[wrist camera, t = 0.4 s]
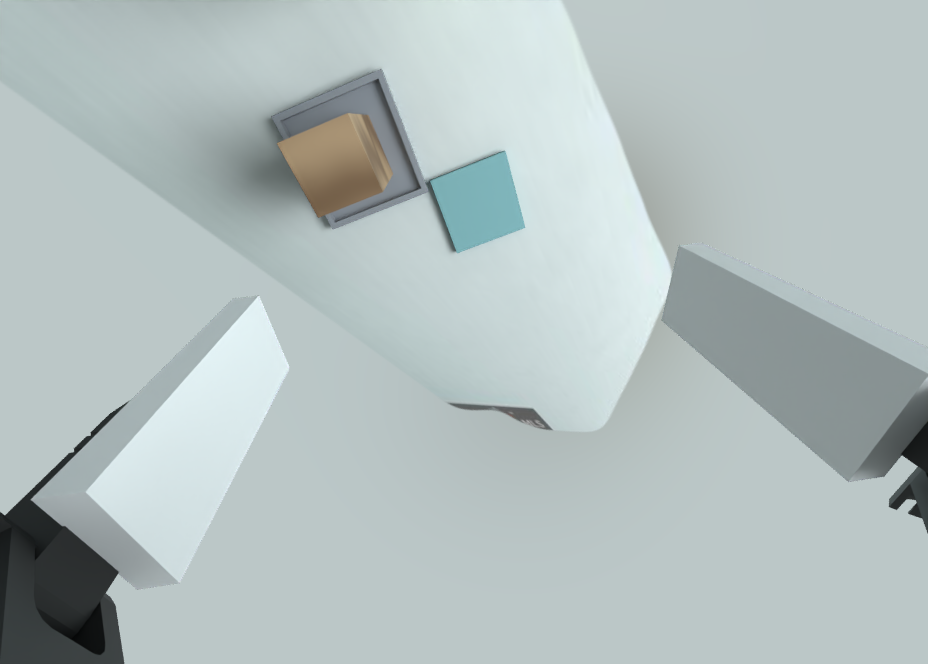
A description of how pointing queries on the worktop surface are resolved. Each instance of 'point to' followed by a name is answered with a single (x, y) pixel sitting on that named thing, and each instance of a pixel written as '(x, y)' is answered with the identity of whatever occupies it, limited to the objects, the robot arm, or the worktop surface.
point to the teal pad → (479, 202)
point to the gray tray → (379, 104)
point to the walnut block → (338, 162)
